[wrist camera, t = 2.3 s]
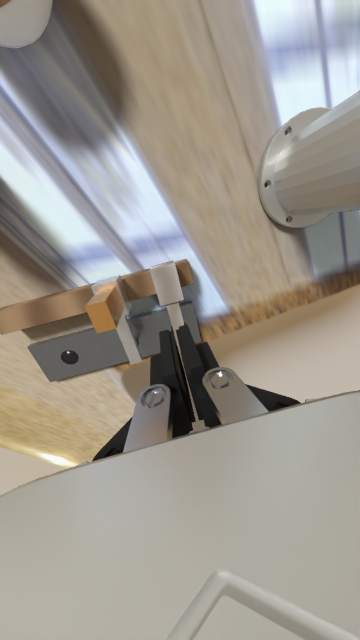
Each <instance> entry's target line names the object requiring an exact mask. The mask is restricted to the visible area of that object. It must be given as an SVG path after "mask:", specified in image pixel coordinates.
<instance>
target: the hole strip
mask: <svg viewBox="0 0 360 640" xmlns="http://www.w3.org/2000/svg"><path fill="white" fill-rule="evenodd" d="M179 306H180V310H181V313H182V317H183V321H184V325H186V324H188V327H189V329H190V332H191V335H192V337H193V340H194V343H198V342H201V337H200V333H199V328H198V324H197V319H196V315H195V310H194V306H193V303H192V301H191V302H187V303H183V304H179ZM127 319H128V321H129V324H130V326H131V329H132V332H133V334H134V337H135V339H138V340H139V346H138V347H139V350H140V353H141V355H142V357H146V356H150V355H153V354H157V353H161V352H160V337H159V332H160V331H164V330H169V332H170V331H173V327H172V324H171V320H170V317H169V313H168V310H167V308H164V309H161V310H157V311H153V312H149V313H146V314H142V315H138V316H134V317H131V318H127ZM173 334H174V331H173ZM174 337H175V334H174ZM175 341H176V338H175ZM176 344H177V341H176ZM177 347H178V345H177ZM27 348H28V349H29V351H30V352H31V354H32V355H33V357H34V358H35V360H36V361H37V363H38V364H39V366H40V368H41V369H42V371H43V372H44V374H45V375H46V377H47V378H48V380H49V381H50V382H53V381H56V380H60V379H64V378H68V377H71V376H75V375H79V374H83V373H86V372H90V371H94V370H97V369H101V368H105V367H109V366H112V365H116V364H120V363H124V362H127V361H129V359H128V356H127V354H126V352H125V349H124V347H123V344H122V342H121V340H120V337H119V335H118V333H117V330H116V329H112V330H109V331H105V332H101V333H97V332H96V330H95V328H94V327H93V328H89V329H86V330H82V331H78V332H74V333H71V334H67V335H63V336H59V337H56V338H52V339H48V340H44V341H41V342H37V343H33V344H30V345H29V346H28V347H27Z"/></svg>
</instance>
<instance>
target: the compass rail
mask: <svg viewBox="0 0 360 640" xmlns="http://www.w3.org/2000/svg"><path fill="white" fill-rule="evenodd" d="M121 279H122V281H123V284H124V287H125V290H126V292H127V295H128V298H129V301H131V300H135V299H139V298H142V297H146V296H150V295H154V294H157V296H158V299H159V303H160V306H163V305H166V306H167V310H168V313H169V317H170V320H171V324H172V327H173V331H174V334H175V338H176V341H177V345H178V348H179V351H180V347H179V343H178V338H177V334H176V330H177V329H179V326H183V325H184V321H183V317H182V313H181V310H180V306H179V302H178V301H181V300H184V298H183V294H182V290H181V287H184V286H187V285H191V284H194V283H193V278H192V274H191V269H190V264H189V262H188V261H187V260H186V259H184V260H180V261H176V262H174V261H169V262H166V263H162V264H158V265H154V266H151V267H150V269H146V270H142V271H138V272H135V273H131V274H127V275H123V276H121ZM94 284H95V283H93V284H89V285H85V286H82V287H78V288H74V289H70V290H67V291H63V292H59V293H55V294H51V295H48V296H44V297H40V298H36V299H33V300H29V301H25V302H21V303H17V304H14V305H10V306H6V307H3V308H1V309H0V333H1V335H3V334H7V333H11V332H14V331H18V330H22V329H26V328H29V327H33V326H37V325H41V324H44V323H48V322H52V321H56V320H60V319H63V318H67V317H71V316H75V315H78V314H82V313H86V312H87V311H86V309H85V305H86V304H87V303H88V302H89V301H90V300H91V298H92V297H93V296H94V293H93V291H92V288H91V286H92V285H94Z"/></svg>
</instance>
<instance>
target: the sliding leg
mask: <svg viewBox="0 0 360 640" xmlns="http://www.w3.org/2000/svg"><path fill="white" fill-rule="evenodd" d="M91 288H92V291H93V293H94V296H93V297H92V298H91V300H90V301H89V302H88V303H87V304H86V305H85V309H86V311H87V313H88V315H89V317H90V319H91V321H92V324H93V326H94V328H95V330H96V332H97V333H101V332H105V331H109V330H112V329H116V330H117V333H118V335H119V337H120V340H121V342H122V344H123V347H124V349H125V352H126V354H127V356H128V359H129V361H130V364H135V363H138V362H142V355H141V353H140V350H139V347H138V346H139V340H138V339H135V337H134V334H133V332H132V329H131V326H130V324H129V321H128V319H127V316H126V315H129V313H130V310H131V303H130V301H129V298H128V295H127V292H126V290H125V287H124V284H123V281H122V279H121V276H120V275H118V276H114V277H110V278H107V279H103V280H99V281H97V282H96V283H95V284H94V285H92V286H91Z"/></svg>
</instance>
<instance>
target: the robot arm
mask: <svg viewBox="0 0 360 640" xmlns="http://www.w3.org/2000/svg"><path fill="white" fill-rule="evenodd" d="M264 184H266V187H265V186H264ZM258 187H259V195H260V200H261V202H262V205H263V208H264V209H265V211H266V212H267V214H268V216H269V217H270V218H271V219H273V220H274V221H275V222H276V223H278V224H280V225H282V226H285V227H290V228H302V227H307V226H311V225H313V224H315V223H318V222H320V221H321V220H323V219H324V218H325V217H327V216H328V215H329V214H330V213H333V212H344V211H355V210H360V91H358V92H357V93H355V94H354V95H352V96H351V97H349V98H348V99H346V100H345V101H343V102H342V103H340V104H339V105H337V106H336V107H334V108H333V109H329V108H322V107H319V108H311V109H308V110H306V111H303V112H301V113H299V114H298V115H296V116H295V117H293V118H291V119H290V120H289V121H288V122H287V123H285V124H284V125H283V126H282V127H281V128H280V129H279V130H278V132H277V133H276V134H275V135H274V137H273V138H272V140H271V141H270V143H269V144H268V146H267V149H266V151H265V153H264V155H263V158H262V162H261V165H260V170H259V178H258ZM286 219H287V220H286ZM176 334H177V338H178V343H179V347H180V351H181V355H182V360H183V364H184V368H185V372H186V376H187V380H188V383H189V387H190V390H191V393H192V397H193V401H194V404H195V408H196V411H197V415H198V418H199V420H203V419H204V423H205V426H206V427H207V426H208V427H210V428H209V429H205V430H201V431H198V432H194V433H190V434H188V433H189V432H190V431H192V430H193V428H192V422H195V417H194V412H193V408H192V403H191V399H190V395H189V390H188V385H187V381H186V377H185V372H184V368H183V365H182V362H181V358H180V354H179V351H178V347H177V344H176V341H175V337H174V334H173V331H170V332H169V330H164V331H160V332H159V337H160V352H161V354H160V355H157V356H153V357H151V368H150V370H151V372H150V387H147V388H146V389H145V390H143V391H142V392H141V393H140V395H139V397H138V399H137V402H136V406H135V410H134V413H133V417H132V418H131V419H130V420H129V421H128V422H127V423H126V424H125V425H124V426H123V427H122V428H121V429H120V430H119V431H118V432H117V433H116V434H115V435H114V436H113V437H112V439H111V440H110V441H109V442H108V443H107V444H106V445H105V446H104V447H103V448H102V449H101V450H100V451H99V452H98V453H97V454H96V456H95V457H94V459H93V460H92V462H88V461H85V462H83V463H81V464H79V465H77V466H75V467H72V468H69V469H66V470H63V471H59V472H56V473H53V474H50V475H47V476H44V477H41V478H39V479H36V480H33V481H31V482H28V483H26V484H23V485H21V486H19V487H17V488H15V489H13V490H11V491H9V492H7V493H5V494H3V495H1V496H0V640H360V390H359V391H353V392H346V393H341V394H337V395H333V396H329V397H324V398H320V399H306V400H305V402H304V403H300V402H299V401H297V400H295V399H292V398H289V397H286V396H283V395H279V394H276V393H273V392H269V391H266V390H263V389H259V388H256V387H253V386H250V385H246V384H244V382H243V381H242V380H241V379H240V378H239V377H238V376H237V374H236V373H235V372H234V371H232V370H231V369H229V368H224V367H219V365H218V363H217V361H216V359H215V357H214V355H213V353H212V351H211V349H210V347H209V345H208V343H207V342H204V343H201V344H197V345H195V343H194V340H193V337H192V335H191V332H190V329H189V327H188V324H186V325H183V326H179V329H177V330H176Z"/></svg>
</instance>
